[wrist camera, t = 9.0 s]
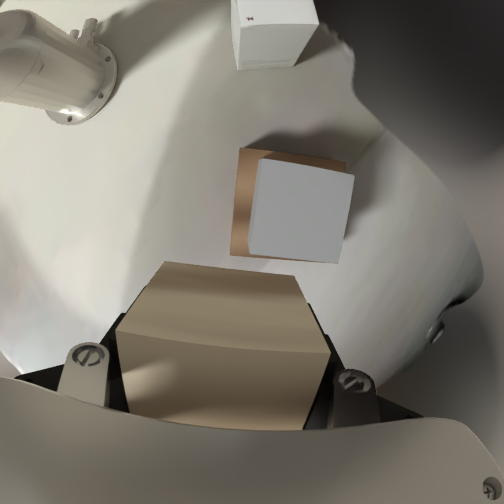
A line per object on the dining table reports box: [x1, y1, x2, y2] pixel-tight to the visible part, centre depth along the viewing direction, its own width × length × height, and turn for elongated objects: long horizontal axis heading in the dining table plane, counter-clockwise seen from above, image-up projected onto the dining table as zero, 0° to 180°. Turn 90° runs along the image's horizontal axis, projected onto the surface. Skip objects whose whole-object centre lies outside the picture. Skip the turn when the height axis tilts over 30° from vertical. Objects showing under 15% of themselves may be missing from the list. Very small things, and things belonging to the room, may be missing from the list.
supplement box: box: [231, 0, 319, 70], centre depth 23 cm, size 7×7×13 cm
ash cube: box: [115, 261, 331, 430], centre depth 9 cm, size 5×5×5 cm
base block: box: [230, 148, 346, 263], centre depth 33 cm, size 12×12×5 cm
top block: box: [247, 158, 355, 264], centre depth 29 cm, size 9×9×5 cm
